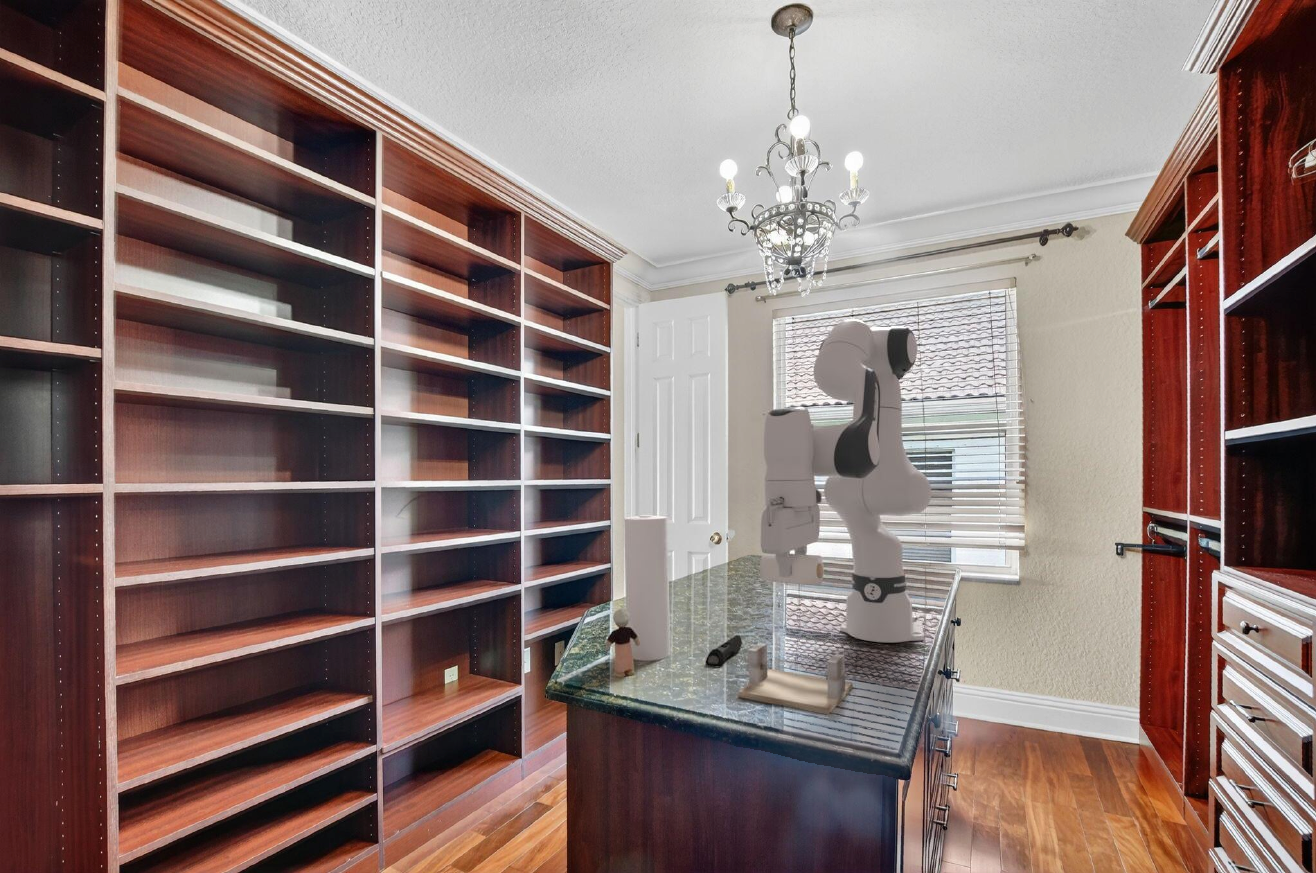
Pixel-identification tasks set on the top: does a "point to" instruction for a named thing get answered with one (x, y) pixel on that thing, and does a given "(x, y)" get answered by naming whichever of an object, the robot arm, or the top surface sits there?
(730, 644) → the electric trimmer
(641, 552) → the cylinder container
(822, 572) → the paper roll
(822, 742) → the top surface
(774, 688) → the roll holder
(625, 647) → the grandmother figurine
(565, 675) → the top surface
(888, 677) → the top surface
